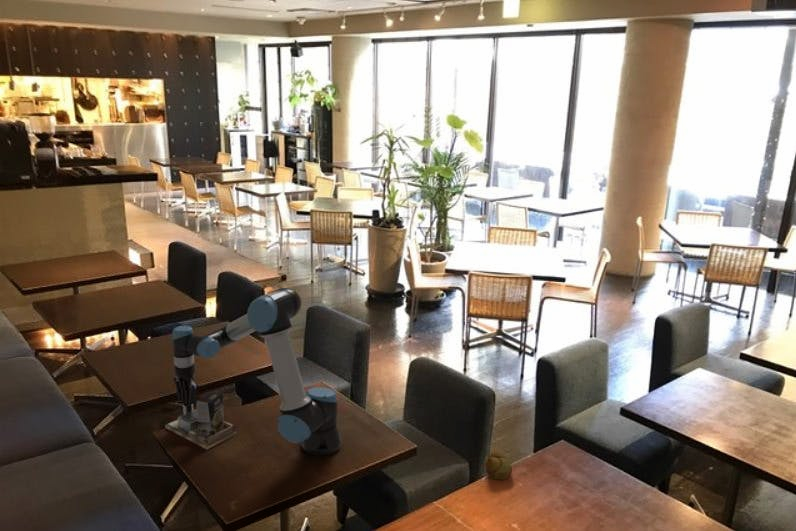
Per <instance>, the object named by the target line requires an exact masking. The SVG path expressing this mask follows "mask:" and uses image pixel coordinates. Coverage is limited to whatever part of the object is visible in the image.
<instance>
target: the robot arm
mask: <svg viewBox="0 0 796 531" xmlns="http://www.w3.org/2000/svg"><path fill="white" fill-rule="evenodd" d="M301 298H302V297H301V296H300V295H299V293H298V292H297V291H296V290H294V289H292V288H288V287H283V288H282V287H281V288H278V289H276V290H274V291H271V292H268V293H266V294H264V295H260V296H259V297H257V298H255V299H254V300H253V301H251V302H250V304H249V306H248V308H247V311H246V312H247V313H246V314H244V315H242V316H240V317H238V318H237V319H235V320H233V321H231V322H230V323H227V324H225V325H224V326H222V327H220V328H217V329H216V330H213V331H210V332H208V333H206V334H204V335H198V334H195V333H194V331H193V327H191V326H189V325H179V326H176V327H174V328H173V330H172V347H173V364H174V374H175V376H174V377H173V382H174V383H175V389H176V394H177V397H178V398H177V399H178V401H179V402H181V404H182V410H183V415H184V414H186V413H188V412H191V411H193V409H192V405H193V404H196V398H197V389H198V387H199V384H198V383H195V381H194V380H195V379H194V374H195V372H196V366H195V356H198V357H200V358H205V359H206V358H208V359H213V358H215V357H216V356H217V355H218V354H219V352H220V350H221V349H223V348H224V347H225V348H226V347H227V346H229V345H232V344H234V343H236V342H237V341H238V340H241V339H242V338H244V337H246V336H249V335H250V334H253V333H254V332H258V334H259V337H261V338H263V339H264V340H265V343H266V347H267V351H268V355H269V359H270V362H271V365H272V369H273V373H274V377H275V379H276V384H277V388H278V390H279V395H280V399H281V404H280V405H279V410H280V411H279V412H280V415H281V416H280V417H279V418H278V421H277V429H278V433H279V434H280V435H281V437H282V438H284V439H285V440H287V441H288V442H289V443H292V444H300V443H301V448H302V450H303V451H304V452H306V454H308V455H312V456H317V457H318V456H319V457H321V456H322V457H323V456H329V455H332V454H335V453H336V452H338V451H339V450H340V449H341V447H342V438H341V435H340V433H339V432H340V431H339V428H338V424H337V421H338V398H337V397H338V396H337V392H336V391H335V390H333V389H331V388H328V387H323V386H322V387H320V386H319V387H318V386H317V387H311V388H309V389H307V391H305V388H304V383H303V380H302V379H303V378H302V376H301V373H300V368H299V365H298V361H297V357H296V353H295V350H294V347H293V346H294V345H293V343H292V339H291V335H290V331H291V329H292V323H291V319H293V318H295V317H296V316H297V315H298V314H299V312H300V311H301V309H302V308H301V307H302V299H301Z"/></svg>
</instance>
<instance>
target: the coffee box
mask: <svg viewBox="0 0 796 531" xmlns="http://www.w3.org/2000/svg"><path fill="white" fill-rule="evenodd" d="M223 398H224V396H223V392H217V391H207V392H206V393H204V394H203V395H202V396H201V397H199V398H198V399H197V400H196V409H197V419H198V435H200V436H202V437H204V438H208V437H210V436H212V435H214V434H216V433H218V432H220V431H222V430H224V421H225V420H224V419H225V418H224V417H225V416H224V399H223Z"/></svg>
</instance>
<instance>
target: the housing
mask: <svg viewBox="0 0 796 531" xmlns="http://www.w3.org/2000/svg"><path fill="white" fill-rule="evenodd" d="M177 420H178V429H180V430H182V431H184V432H186V433H188V431H190V430H191V431H193V432H194V433H197V432H198V419H197V408H195V409H192V411H191V412H188V413H186V414H184V413H183V414H182V415H179V416H177Z"/></svg>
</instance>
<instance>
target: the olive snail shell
mask: <svg viewBox="0 0 796 531" xmlns="http://www.w3.org/2000/svg"><path fill="white" fill-rule="evenodd" d="M484 464H485V471H486V474H487V475H488V476H489V477H490V478H491V479H494V480H498V481H502V480H506V479H508V478H509V477H510V476H511V474H512V471H513V467H512V464H511V459H510V457H509V456H508V455H507V454H505V453H504V452H503V451H493V452H491V453H489V455H488V456H487V457H486V459H485V460H484Z"/></svg>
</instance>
